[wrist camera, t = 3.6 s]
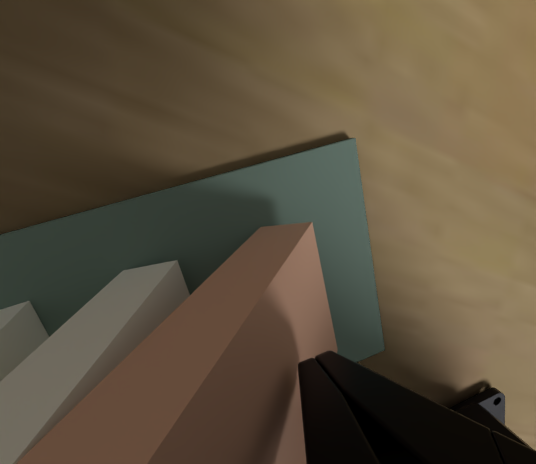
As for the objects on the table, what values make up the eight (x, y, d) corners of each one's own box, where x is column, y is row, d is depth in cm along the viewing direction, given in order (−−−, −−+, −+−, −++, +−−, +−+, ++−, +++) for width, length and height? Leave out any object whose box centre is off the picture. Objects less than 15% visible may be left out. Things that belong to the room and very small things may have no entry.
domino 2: (223, 387, 11) (75, 953, 4) (175, 393, 11) (-55, 933, 4) (177, 260, 9) (-258, 800, 2) (123, 270, 10) (-443, 782, 2)
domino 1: (337, 350, 11) (242, 729, 5) (291, 346, 12) (151, 669, 5) (312, 222, 10) (111, 515, 3) (260, 226, 11) (8, 471, 4)
